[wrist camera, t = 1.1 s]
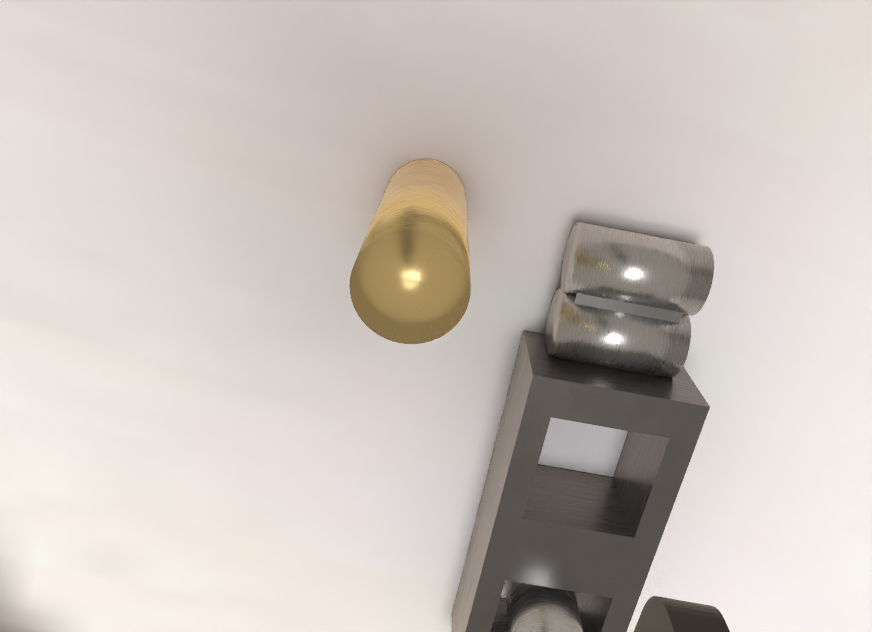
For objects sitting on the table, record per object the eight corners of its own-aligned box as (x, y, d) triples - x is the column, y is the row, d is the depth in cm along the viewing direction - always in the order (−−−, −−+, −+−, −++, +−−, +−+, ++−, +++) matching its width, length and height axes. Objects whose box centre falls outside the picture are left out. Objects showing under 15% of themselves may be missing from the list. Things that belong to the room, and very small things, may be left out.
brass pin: (392, 151, 27) (359, 219, 18) (472, 167, 27) (481, 242, 18) (379, 230, 28) (342, 332, 19) (457, 244, 28) (457, 353, 19)
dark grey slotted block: (553, 210, 27) (578, 257, 22) (718, 241, 28) (784, 296, 22) (432, 691, 37) (428, 810, 31) (557, 710, 37) (575, 832, 31)
